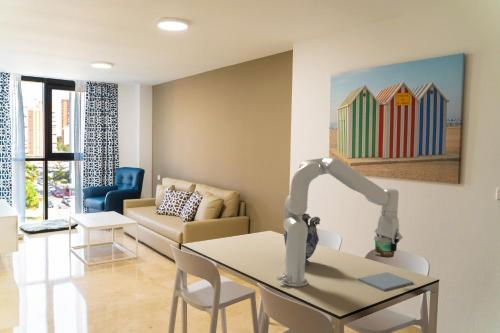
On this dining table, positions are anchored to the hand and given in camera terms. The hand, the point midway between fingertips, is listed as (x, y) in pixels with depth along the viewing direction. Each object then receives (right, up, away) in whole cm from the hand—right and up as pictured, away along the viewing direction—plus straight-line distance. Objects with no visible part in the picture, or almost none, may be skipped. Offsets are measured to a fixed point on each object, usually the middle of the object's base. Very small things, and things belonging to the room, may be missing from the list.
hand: (387, 248), depth 200 cm
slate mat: (-1, -17, +1) cm, 17 cm away
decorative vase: (-40, -14, +28) cm, 51 cm away
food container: (0, -4, 0) cm, 4 cm away
